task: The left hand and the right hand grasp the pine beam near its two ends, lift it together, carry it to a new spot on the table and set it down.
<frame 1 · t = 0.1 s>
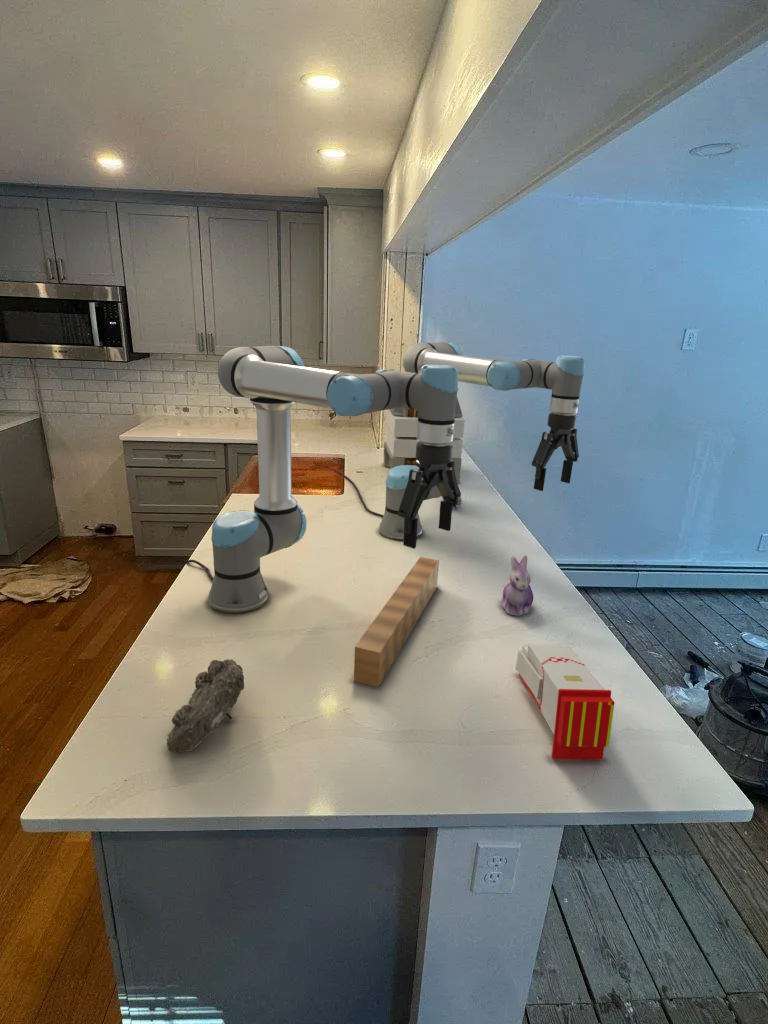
left hand: (427, 537, 124), 28 cm above the counter, tool pointing down, fingers open, 13 cm apart
right hand: (552, 485, 166), 28 cm above the counter, tool pointing down, fingers open, 13 cm apart
toy: (553, 709, 114), on the counter
firewood crate: (419, 473, 275), on the counter
fossil: (212, 717, 108), on the counter
beam: (401, 626, 142), on the counter
figurine character: (451, 505, 231), on the counter
figurine: (516, 608, 153), on the counter
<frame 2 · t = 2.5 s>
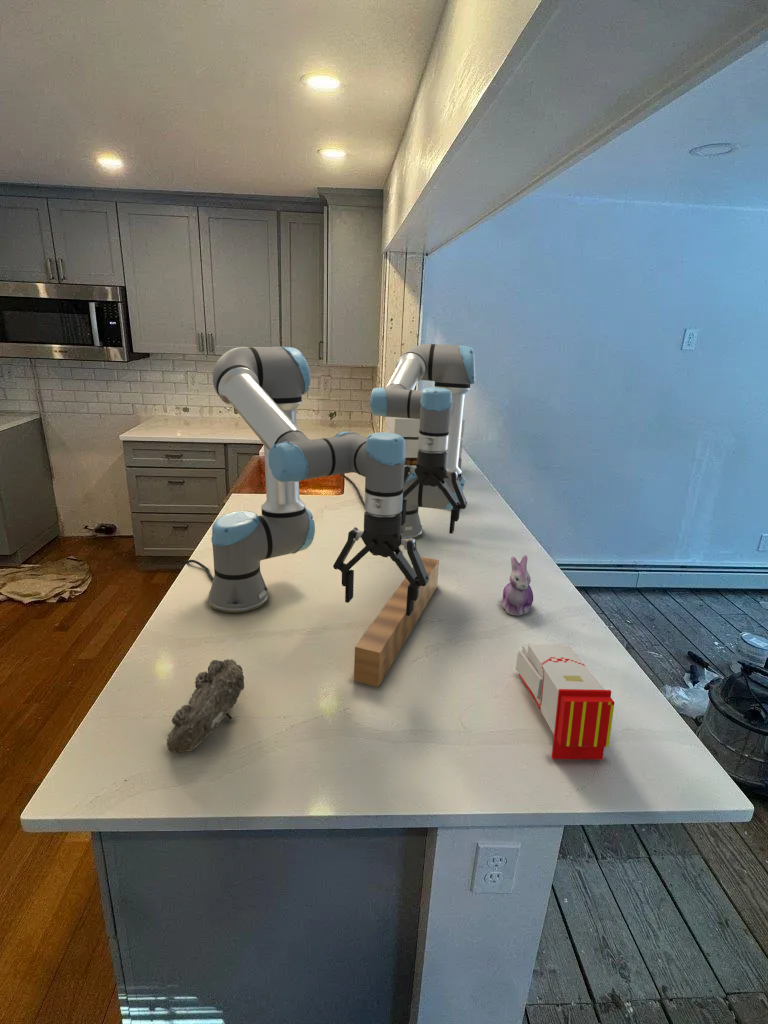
left hand: (378, 606, 120), 15 cm above the counter, tool pointing down, fingers open, 13 cm apart
right hand: (426, 528, 152), 20 cm above the counter, tool pointing down, fingers open, 13 cm apart
nothing on the counter moved.
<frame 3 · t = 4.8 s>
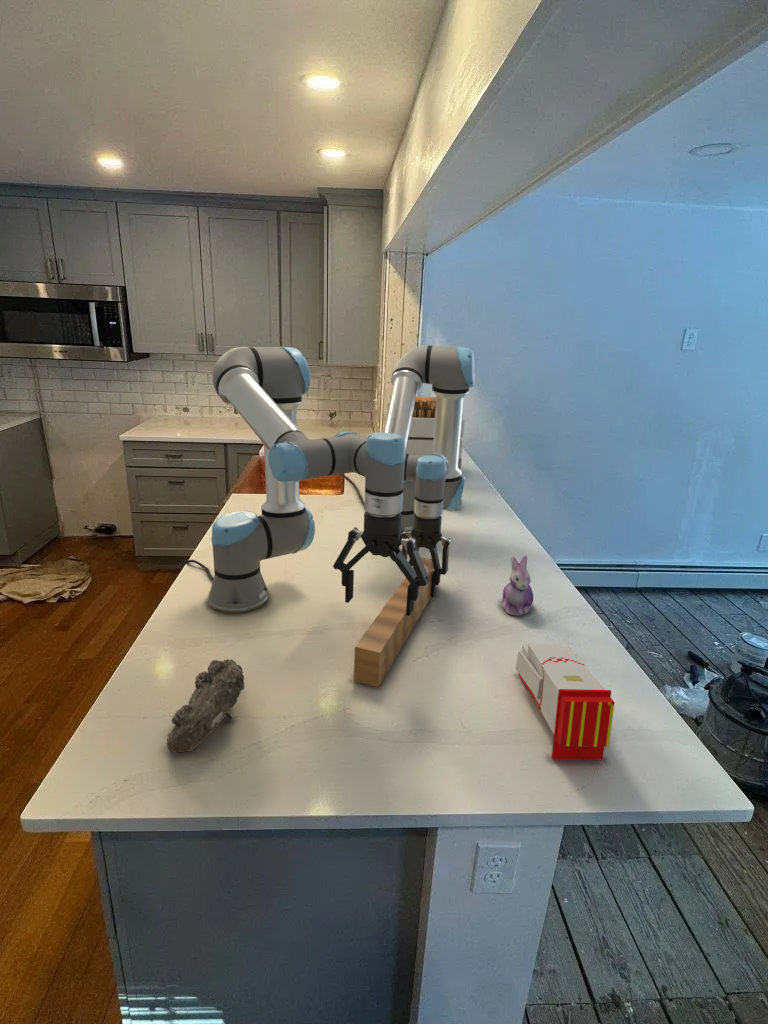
left hand: (378, 606, 120), 15 cm above the counter, tool pointing down, fingers open, 13 cm apart
right hand: (422, 592, 158), 1 cm above the counter, tool pointing down, fingers closed on beam, 6 cm apart
beam: (401, 626, 142), on the counter, touching right hand
everything else where it was.
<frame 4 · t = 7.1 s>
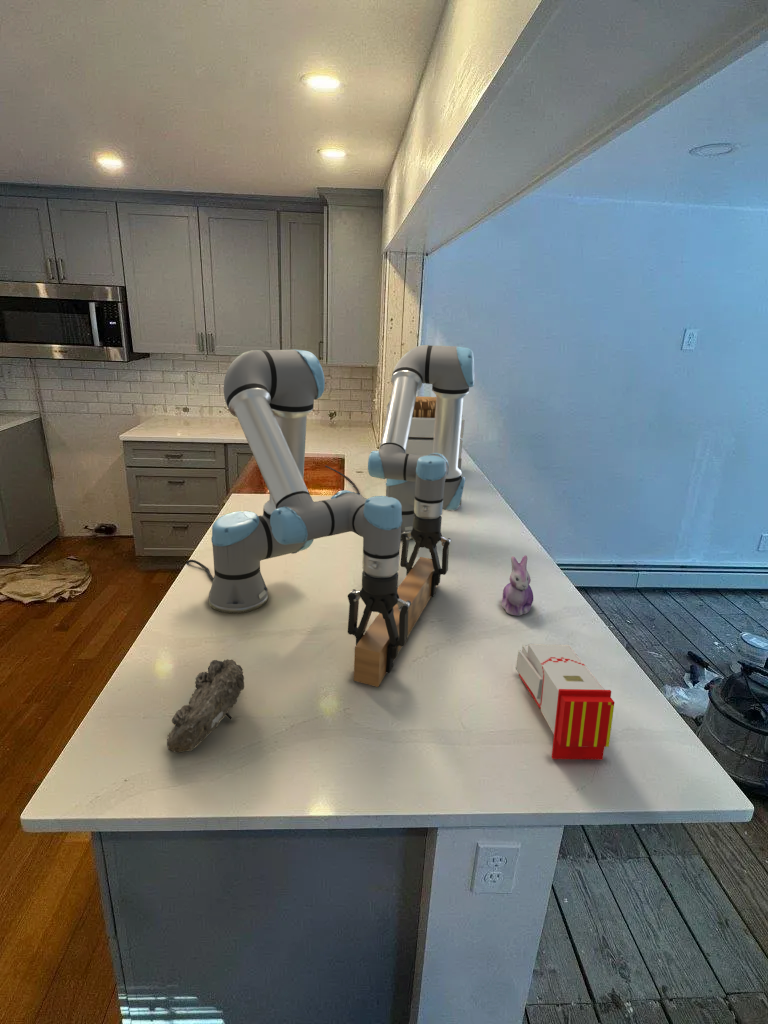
left hand: (376, 665, 125), 1 cm above the counter, tool pointing down, fingers closed on beam, 6 cm apart
right hand: (422, 592, 158), 1 cm above the counter, tool pointing down, fingers closed on beam, 6 cm apart
beam: (401, 626, 142), on the counter, touching right hand, left hand
everything else where it was.
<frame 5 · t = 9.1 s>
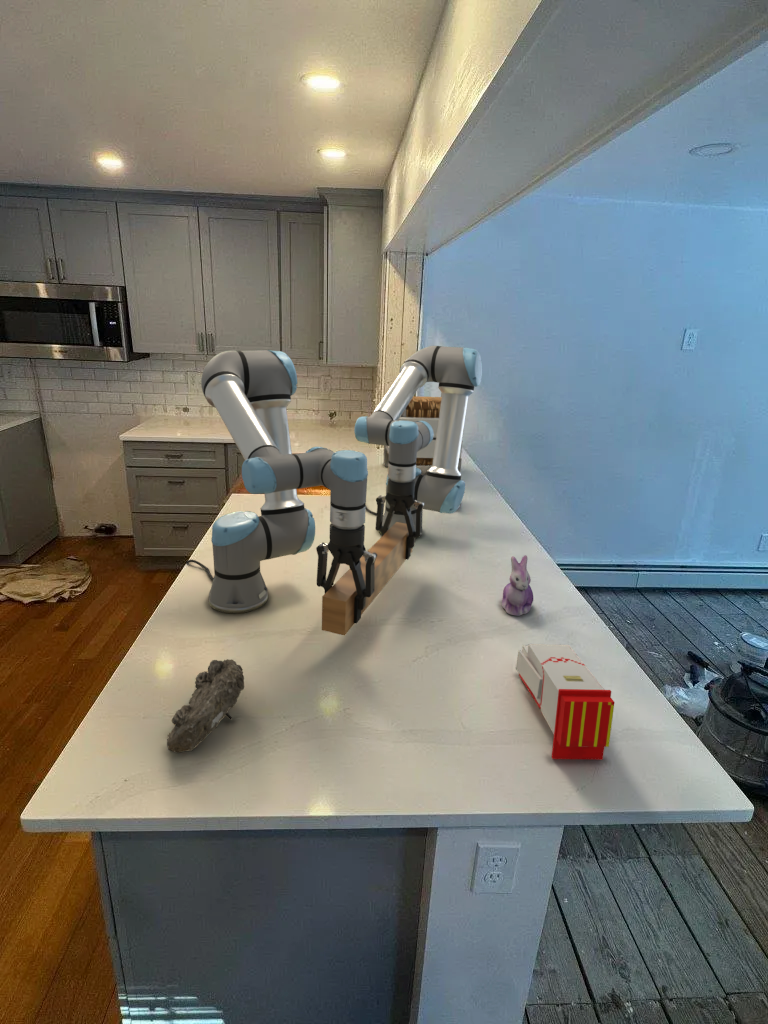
left hand: (344, 617, 129), 8 cm above the counter, tool pointing down, fingers closed on beam, 6 cm apart
right hand: (397, 555, 163), 8 cm above the counter, tool pointing down, fingers closed on beam, 6 cm apart
beam: (373, 585, 146), point 7 cm above the counter, touching right hand, left hand
everything else where it was.
when the left hand's fingers open (2 cm above the counter, at t = 11.0 s): beam drops 1 cm, on the counter.
when the right hand's fingers open (2 cm above the counter, at t = 11.0 s): beam drops 1 cm, on the counter.
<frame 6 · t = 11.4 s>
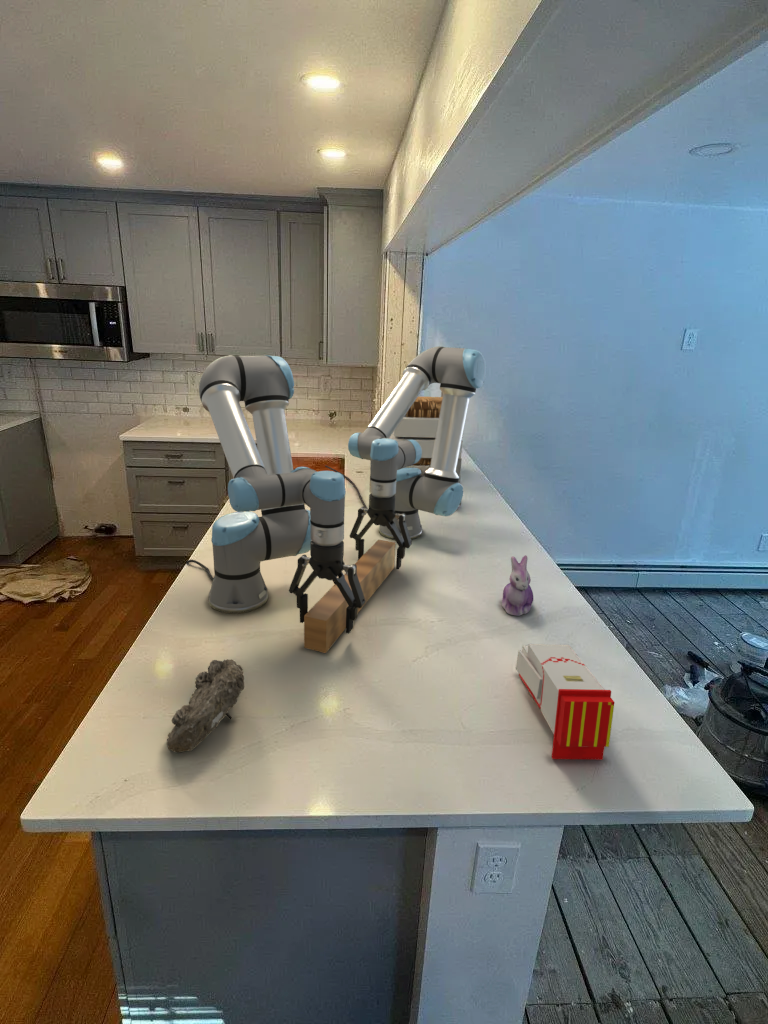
left hand: (326, 625, 135), 3 cm above the counter, tool pointing down, fingers open, 11 cm apart
right hand: (379, 564, 168), 3 cm above the counter, tool pointing down, fingers open, 11 cm apart
beam: (355, 602, 152), on the counter
everything else where it was.
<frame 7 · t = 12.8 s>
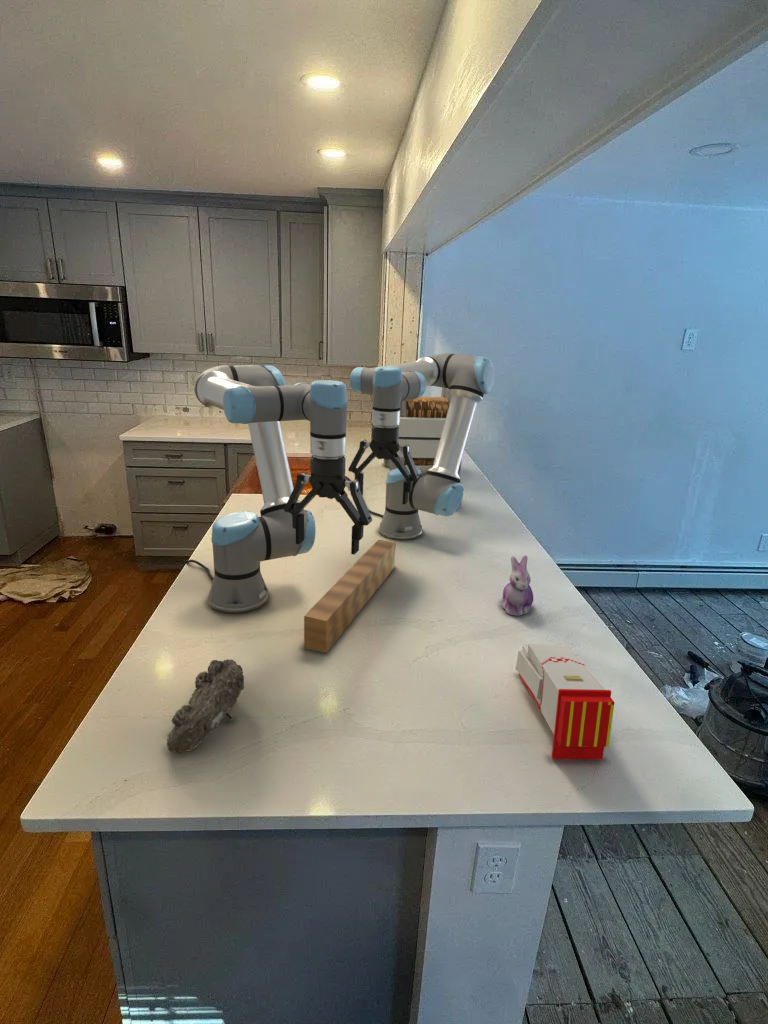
left hand: (327, 547, 128), 23 cm above the counter, tool pointing down, fingers open, 13 cm apart
right hand: (382, 499, 161), 23 cm above the counter, tool pointing down, fingers open, 13 cm apart
nothing on the counter moved.
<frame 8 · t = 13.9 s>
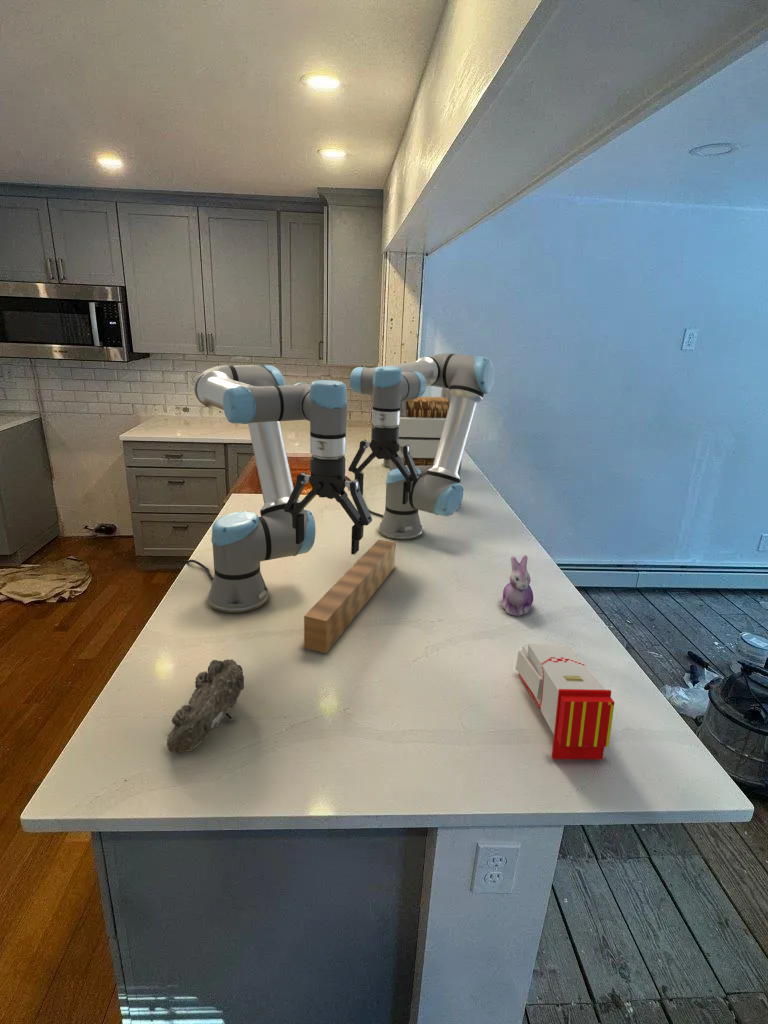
left hand: (327, 547, 128), 23 cm above the counter, tool pointing down, fingers open, 13 cm apart
right hand: (382, 499, 161), 23 cm above the counter, tool pointing down, fingers open, 13 cm apart
nothing on the counter moved.
at the end: beam inside the target area (0.1 cm from its centre), on the counter; beam tilted 0°; beam never tilted more than 1° during the clip; both hands held the beam at the same time; the left hand is holding nothing; the right hand is holding nothing; beam at rest at the end (0.0 cm/s) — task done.
